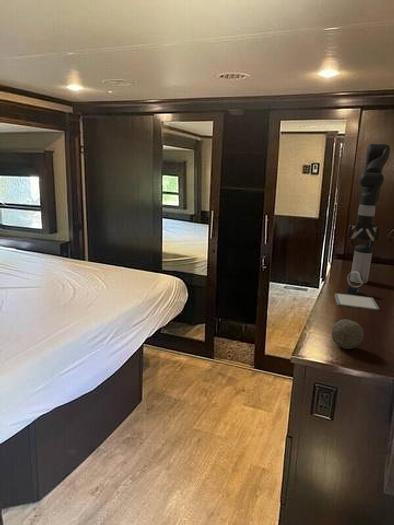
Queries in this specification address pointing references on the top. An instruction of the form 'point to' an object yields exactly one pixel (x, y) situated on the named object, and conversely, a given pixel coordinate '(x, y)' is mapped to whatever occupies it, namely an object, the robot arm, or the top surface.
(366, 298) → the mat
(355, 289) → the watch
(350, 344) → the decorative stone
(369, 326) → the top surface
